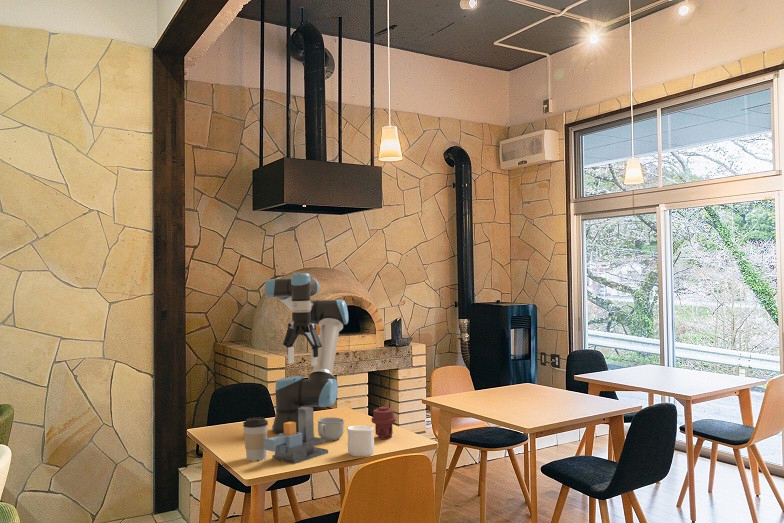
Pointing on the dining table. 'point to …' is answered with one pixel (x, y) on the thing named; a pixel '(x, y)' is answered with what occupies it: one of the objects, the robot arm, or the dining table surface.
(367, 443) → the cup
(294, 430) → the orange rectangular block
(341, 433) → the teacup
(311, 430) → the grey fixture stand
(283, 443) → the bracket
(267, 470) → the dining table surface
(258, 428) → the coffee cup
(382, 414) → the mechanical component
